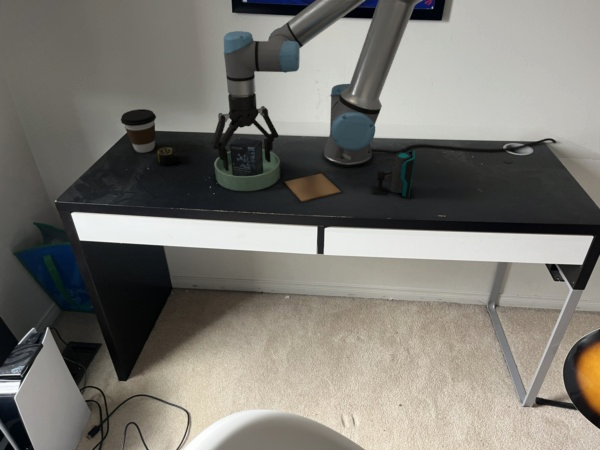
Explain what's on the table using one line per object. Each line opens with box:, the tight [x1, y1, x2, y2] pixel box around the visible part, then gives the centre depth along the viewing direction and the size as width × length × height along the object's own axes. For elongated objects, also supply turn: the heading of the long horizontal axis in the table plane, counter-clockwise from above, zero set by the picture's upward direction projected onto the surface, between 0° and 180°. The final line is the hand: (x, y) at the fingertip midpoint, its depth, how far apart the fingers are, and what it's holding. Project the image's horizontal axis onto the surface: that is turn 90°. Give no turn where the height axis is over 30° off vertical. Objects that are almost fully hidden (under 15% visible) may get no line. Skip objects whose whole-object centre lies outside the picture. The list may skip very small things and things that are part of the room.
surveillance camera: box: [372, 150, 416, 199], centre depth 130 cm, size 6×12×10 cm
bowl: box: [213, 148, 281, 192], centre depth 141 cm, size 19×19×4 cm
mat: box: [284, 173, 341, 203], centre depth 135 cm, size 12×12×1 cm
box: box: [229, 136, 263, 176], centre depth 139 cm, size 8×6×11 cm
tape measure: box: [155, 146, 181, 165], centre depth 149 cm, size 7×7×4 cm
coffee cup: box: [120, 108, 157, 154], centre depth 155 cm, size 11×11×12 cm
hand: (247, 164), depth 140 cm, fingers open, 12 cm apart
